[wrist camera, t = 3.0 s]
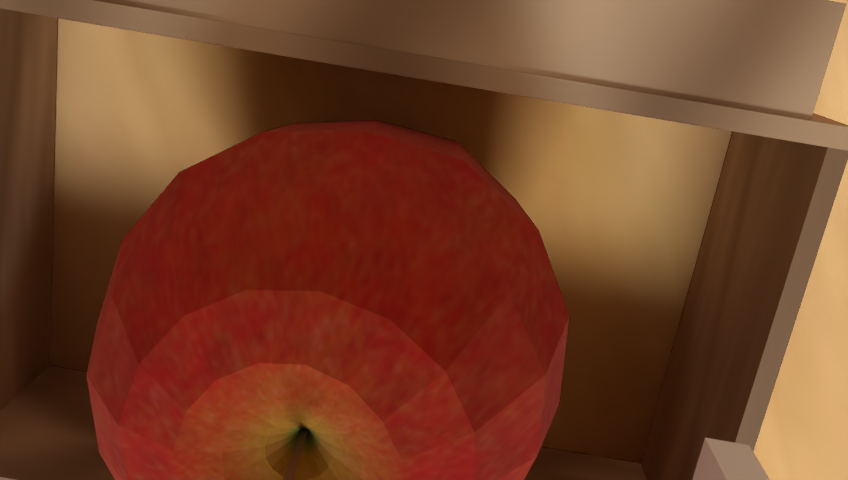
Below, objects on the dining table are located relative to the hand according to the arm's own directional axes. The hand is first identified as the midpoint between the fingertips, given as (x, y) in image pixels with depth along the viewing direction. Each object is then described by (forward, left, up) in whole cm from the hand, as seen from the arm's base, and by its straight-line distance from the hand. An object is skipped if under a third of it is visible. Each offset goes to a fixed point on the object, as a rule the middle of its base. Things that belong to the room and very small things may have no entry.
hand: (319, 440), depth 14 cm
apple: (0, 0, -12) cm, 12 cm away
